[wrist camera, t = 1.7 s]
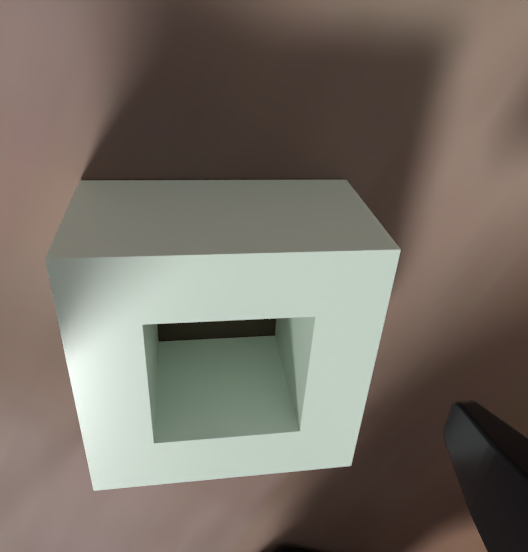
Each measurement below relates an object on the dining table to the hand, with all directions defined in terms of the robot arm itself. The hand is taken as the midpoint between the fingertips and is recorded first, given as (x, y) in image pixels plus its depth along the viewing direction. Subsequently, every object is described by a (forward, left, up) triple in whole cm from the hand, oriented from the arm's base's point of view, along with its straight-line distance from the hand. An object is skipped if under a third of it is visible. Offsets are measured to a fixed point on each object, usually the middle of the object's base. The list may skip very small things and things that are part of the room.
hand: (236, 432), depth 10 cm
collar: (0, 0, -5) cm, 5 cm away
